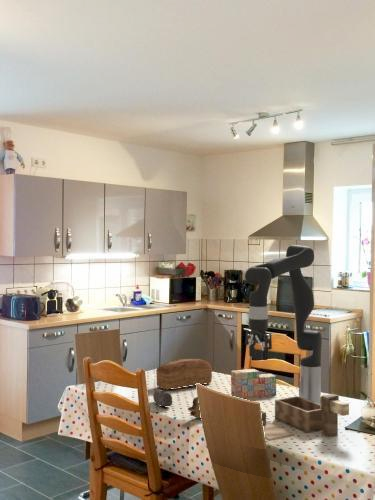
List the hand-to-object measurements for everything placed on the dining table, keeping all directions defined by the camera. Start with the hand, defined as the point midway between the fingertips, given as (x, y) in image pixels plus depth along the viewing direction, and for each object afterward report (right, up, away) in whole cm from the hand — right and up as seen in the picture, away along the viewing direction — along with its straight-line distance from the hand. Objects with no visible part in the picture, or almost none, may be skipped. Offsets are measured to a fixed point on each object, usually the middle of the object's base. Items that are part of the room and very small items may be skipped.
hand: (258, 358), depth 221 cm
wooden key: (+27, -18, -11) cm, 35 cm away
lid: (+3, -28, -4) cm, 28 cm away
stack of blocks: (+4, -28, +49) cm, 56 cm away
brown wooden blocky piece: (+20, -28, +1) cm, 34 cm away
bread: (-30, -28, +68) cm, 79 cm away
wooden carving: (-22, -28, +13) cm, 38 cm away
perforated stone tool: (-40, -28, +31) cm, 58 cm away
